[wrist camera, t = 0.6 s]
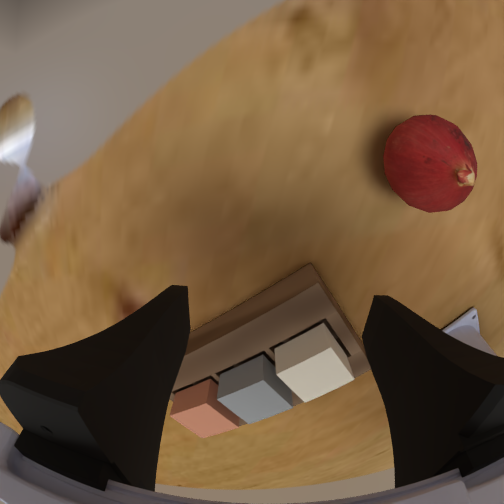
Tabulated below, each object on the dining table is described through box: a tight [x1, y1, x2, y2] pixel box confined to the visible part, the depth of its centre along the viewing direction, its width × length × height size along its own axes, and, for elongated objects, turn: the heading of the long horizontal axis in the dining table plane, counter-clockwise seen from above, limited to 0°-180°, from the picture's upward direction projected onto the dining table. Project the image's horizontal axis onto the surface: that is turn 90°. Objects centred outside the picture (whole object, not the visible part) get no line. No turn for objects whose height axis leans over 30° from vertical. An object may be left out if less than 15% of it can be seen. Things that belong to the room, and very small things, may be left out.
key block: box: [170, 263, 371, 426], centre depth 23 cm, size 10×16×3 cm, turn 125°
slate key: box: [217, 355, 293, 424], centre depth 21 cm, size 4×4×3 cm
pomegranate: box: [383, 115, 477, 213], centre depth 14 cm, size 6×6×8 cm
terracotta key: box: [170, 379, 240, 438], centre depth 22 cm, size 4×4×3 cm
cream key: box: [275, 323, 354, 403], centre depth 19 cm, size 4×4×3 cm
